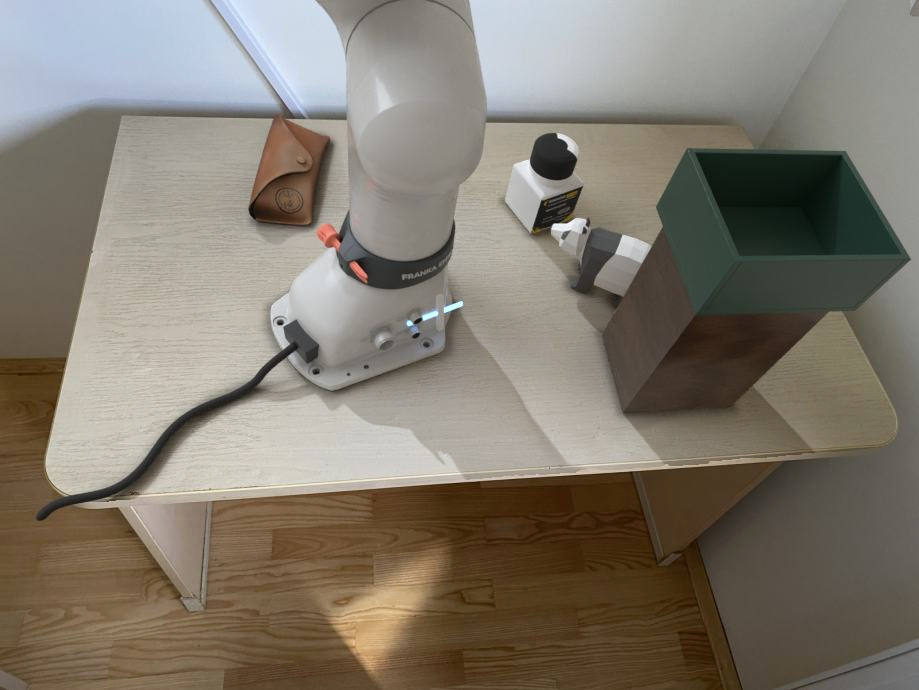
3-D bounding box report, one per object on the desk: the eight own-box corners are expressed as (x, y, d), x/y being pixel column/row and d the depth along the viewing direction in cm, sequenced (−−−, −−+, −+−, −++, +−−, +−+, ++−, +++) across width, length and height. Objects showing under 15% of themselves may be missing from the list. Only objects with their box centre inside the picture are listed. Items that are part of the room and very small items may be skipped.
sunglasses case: (315, 225, 87) (284, 190, 82) (271, 239, 90) (239, 206, 85) (331, 134, 97) (305, 98, 92) (292, 148, 99) (264, 114, 94)
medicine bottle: (530, 235, 92) (551, 170, 82) (503, 201, 95) (520, 134, 85) (571, 220, 94) (596, 155, 84) (543, 187, 97) (564, 120, 87)
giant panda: (646, 287, 89) (674, 240, 81) (635, 317, 86) (664, 271, 78) (545, 246, 91) (563, 196, 83) (532, 274, 88) (549, 225, 80)
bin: (695, 315, 59) (735, 261, 53) (655, 207, 66) (686, 147, 60) (855, 311, 62) (911, 259, 56) (800, 207, 69) (845, 150, 62)
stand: (622, 413, 78) (702, 305, 60) (601, 335, 84) (668, 215, 66) (730, 407, 81) (839, 301, 62) (702, 332, 87) (795, 215, 68)
